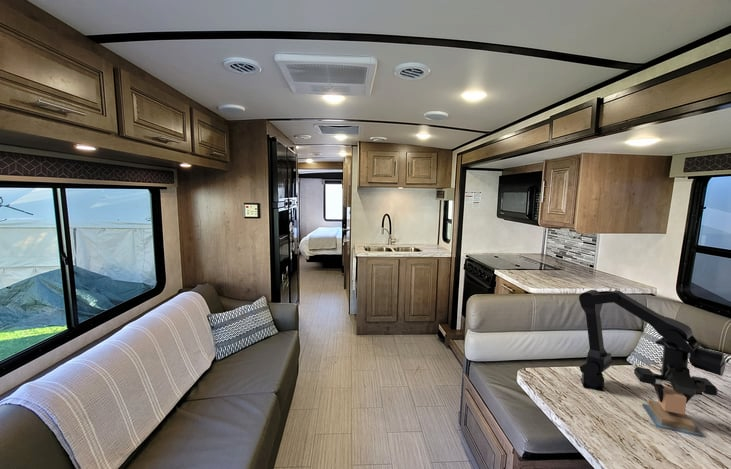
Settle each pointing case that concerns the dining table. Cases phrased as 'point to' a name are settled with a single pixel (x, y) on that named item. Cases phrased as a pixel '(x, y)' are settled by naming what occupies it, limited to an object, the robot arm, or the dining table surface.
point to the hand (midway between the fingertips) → (671, 403)
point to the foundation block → (670, 419)
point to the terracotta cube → (673, 401)
